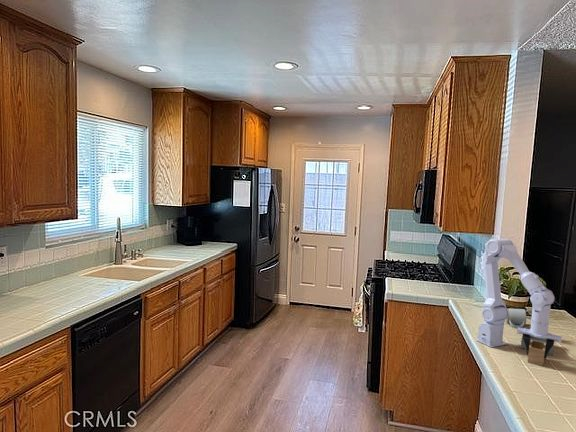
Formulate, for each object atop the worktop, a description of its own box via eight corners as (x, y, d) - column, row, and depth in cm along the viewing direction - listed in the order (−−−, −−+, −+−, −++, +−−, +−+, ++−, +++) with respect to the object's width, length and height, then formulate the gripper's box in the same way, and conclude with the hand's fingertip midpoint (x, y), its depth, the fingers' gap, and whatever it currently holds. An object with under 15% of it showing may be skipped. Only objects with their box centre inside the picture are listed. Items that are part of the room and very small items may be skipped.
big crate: (552, 355, 164) (553, 344, 163) (520, 348, 170) (521, 337, 169) (553, 345, 174) (554, 334, 174) (523, 338, 180) (524, 328, 180)
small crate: (543, 366, 153) (544, 350, 153) (527, 362, 156) (529, 347, 156) (544, 357, 161) (545, 343, 160) (529, 354, 164) (531, 339, 163)
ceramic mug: (504, 320, 204) (505, 305, 203) (523, 322, 201) (524, 307, 200) (507, 327, 194) (509, 311, 193) (527, 330, 191) (529, 314, 190)
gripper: (517, 319, 158) (513, 354, 159) (562, 328, 150) (558, 364, 151) (519, 315, 164) (515, 348, 165) (562, 323, 156) (559, 358, 157)
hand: (536, 355), depth 158 cm, fingers closed on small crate, 5 cm apart
